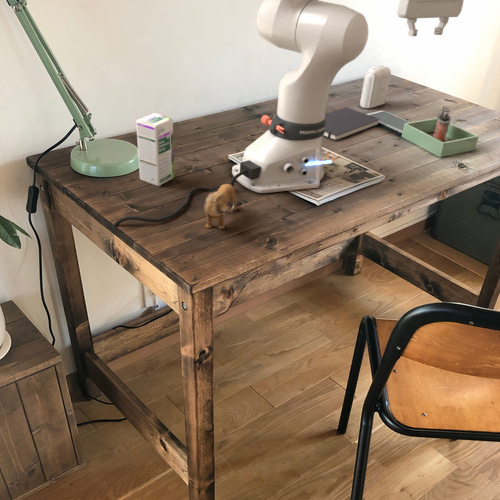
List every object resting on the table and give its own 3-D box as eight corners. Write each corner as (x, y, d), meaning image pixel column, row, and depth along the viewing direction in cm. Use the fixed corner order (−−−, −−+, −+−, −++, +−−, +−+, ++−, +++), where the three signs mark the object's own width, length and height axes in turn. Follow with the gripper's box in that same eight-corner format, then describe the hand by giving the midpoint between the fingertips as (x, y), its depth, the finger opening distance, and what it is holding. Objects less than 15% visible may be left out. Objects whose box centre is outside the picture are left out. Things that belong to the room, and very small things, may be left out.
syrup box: (158, 187, 129) (156, 125, 121) (138, 179, 131) (135, 118, 123) (174, 178, 133) (173, 118, 125) (154, 171, 135) (152, 111, 127)
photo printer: (376, 100, 189) (383, 62, 182) (386, 103, 187) (394, 65, 180) (357, 106, 183) (363, 67, 176) (368, 110, 180) (375, 70, 174)
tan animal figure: (226, 240, 112) (228, 199, 107) (199, 236, 112) (200, 195, 107) (239, 204, 124) (241, 166, 119) (215, 201, 125) (216, 163, 120)
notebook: (345, 111, 178) (300, 127, 165) (346, 106, 177) (301, 121, 164) (379, 124, 171) (335, 140, 158) (380, 119, 170) (336, 135, 157)
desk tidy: (440, 157, 152) (443, 143, 150) (401, 136, 163) (404, 123, 161) (474, 150, 158) (478, 136, 156) (435, 130, 169) (438, 117, 167)
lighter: (444, 149, 157) (454, 114, 152) (432, 147, 158) (441, 112, 152) (442, 138, 164) (451, 104, 158) (430, 137, 164) (438, 103, 159)
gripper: (414, -20, 142) (404, 38, 149) (472, -20, 151) (460, 35, 158) (396, -23, 147) (388, 34, 153) (454, -22, 156) (443, 32, 162)
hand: (425, 35), depth 156 cm, fingers open, 8 cm apart
